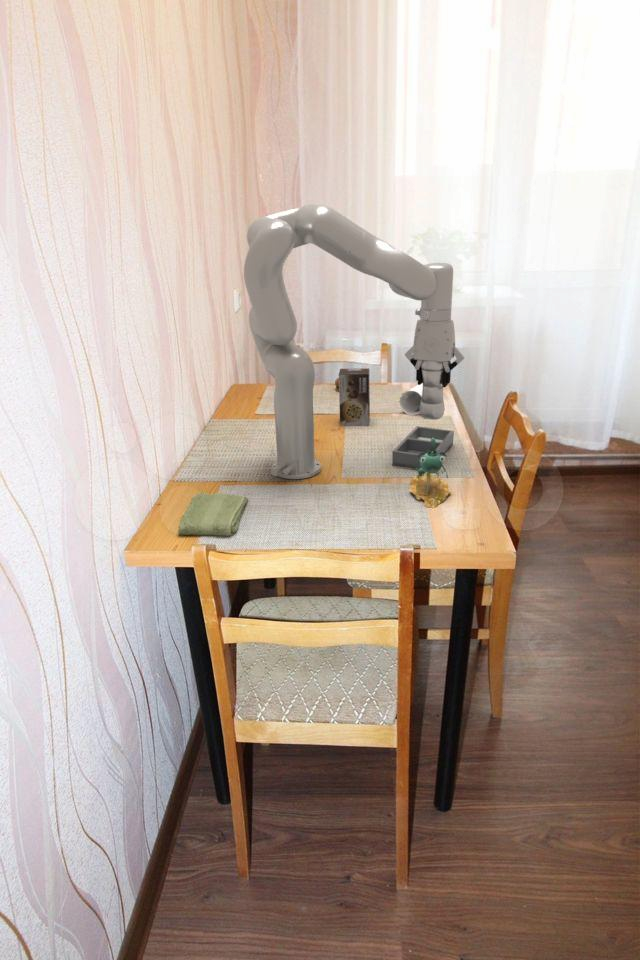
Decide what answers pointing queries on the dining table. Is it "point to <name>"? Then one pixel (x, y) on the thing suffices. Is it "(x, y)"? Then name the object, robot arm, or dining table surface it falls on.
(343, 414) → the coffee box
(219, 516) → the washcloth
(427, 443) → the grey compartment tray
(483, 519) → the dining table surface
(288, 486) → the dining table surface
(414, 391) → the white hollow cylinder
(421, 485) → the frog figurine
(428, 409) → the plastic bottle
